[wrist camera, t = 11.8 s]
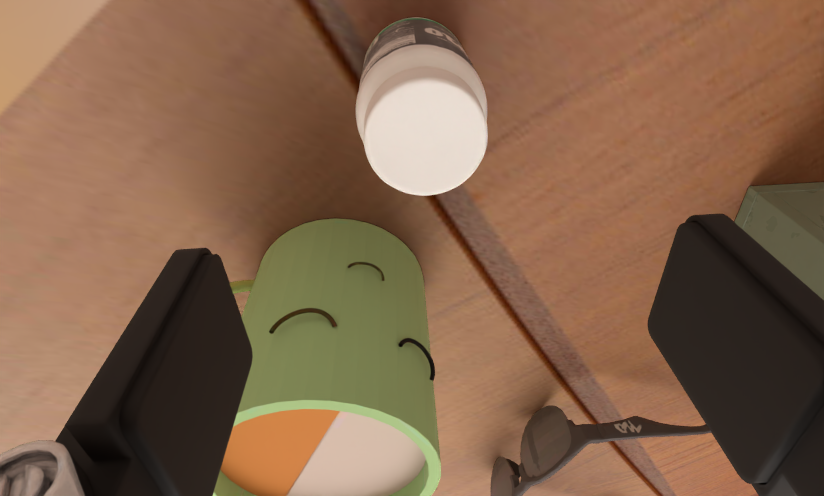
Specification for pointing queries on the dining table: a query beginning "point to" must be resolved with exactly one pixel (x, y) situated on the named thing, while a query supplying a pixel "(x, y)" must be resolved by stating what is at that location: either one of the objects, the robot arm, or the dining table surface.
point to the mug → (335, 370)
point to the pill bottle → (421, 108)
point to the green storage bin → (789, 227)
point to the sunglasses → (567, 446)
